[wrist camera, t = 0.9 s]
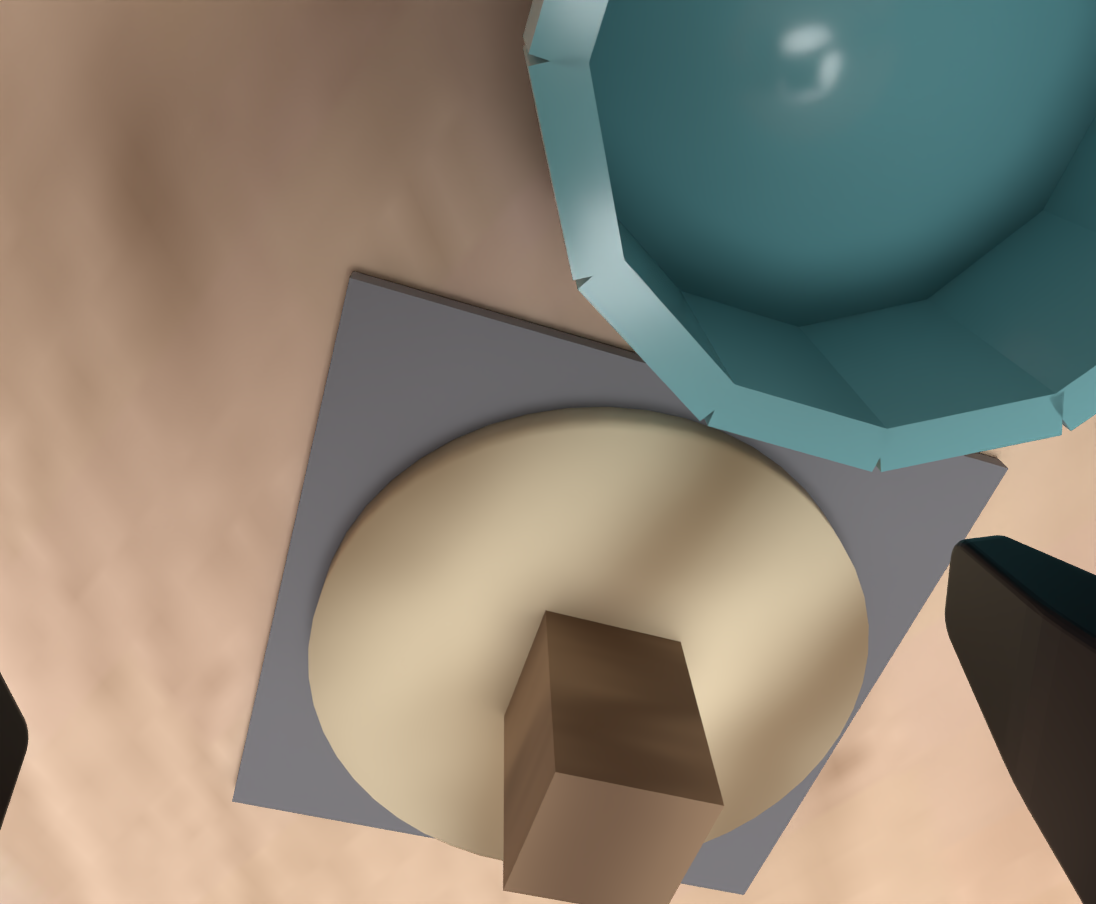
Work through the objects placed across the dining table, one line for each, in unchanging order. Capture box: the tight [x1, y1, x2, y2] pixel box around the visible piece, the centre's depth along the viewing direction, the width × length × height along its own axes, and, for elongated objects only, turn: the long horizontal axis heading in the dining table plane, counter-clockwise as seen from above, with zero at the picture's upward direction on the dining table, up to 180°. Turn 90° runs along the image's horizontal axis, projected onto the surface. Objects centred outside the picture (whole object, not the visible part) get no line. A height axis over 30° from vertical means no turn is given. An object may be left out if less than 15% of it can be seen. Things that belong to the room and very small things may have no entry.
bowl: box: [523, 0, 1096, 472], centre depth 15 cm, size 12×12×6 cm
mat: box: [232, 271, 1008, 895], centre depth 24 cm, size 16×16×1 cm
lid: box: [308, 407, 869, 904], centre depth 21 cm, size 14×14×6 cm
